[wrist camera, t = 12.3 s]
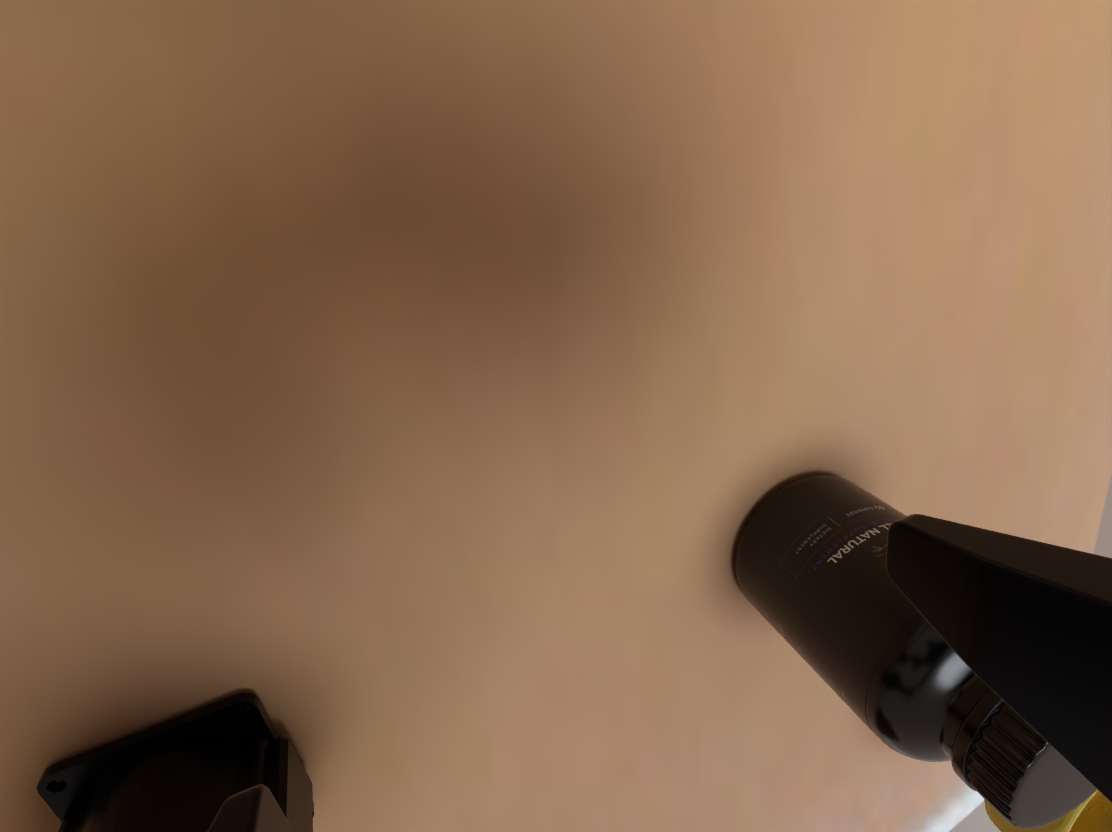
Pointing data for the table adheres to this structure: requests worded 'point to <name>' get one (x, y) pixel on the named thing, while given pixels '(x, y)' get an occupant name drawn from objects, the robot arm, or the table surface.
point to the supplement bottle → (891, 648)
